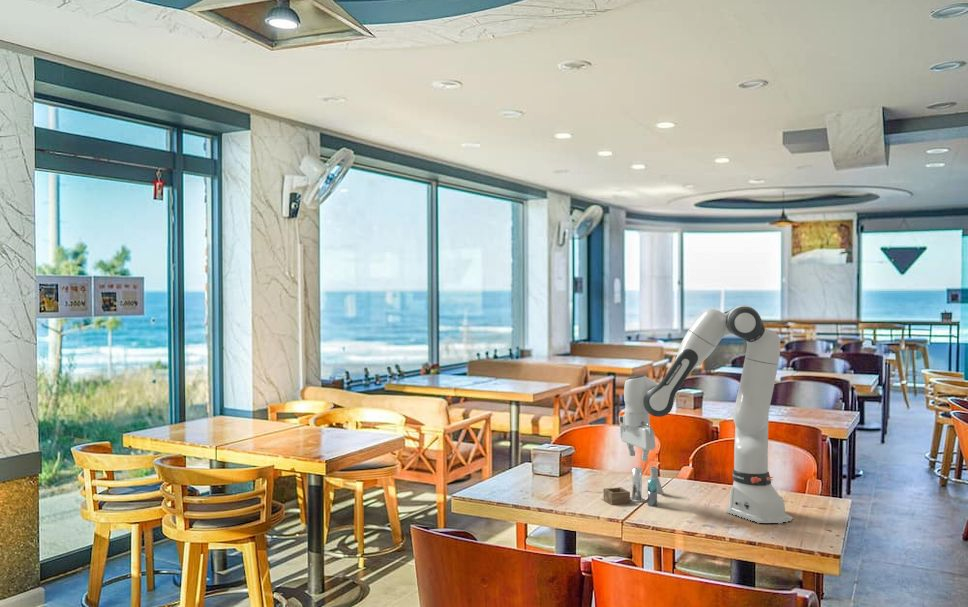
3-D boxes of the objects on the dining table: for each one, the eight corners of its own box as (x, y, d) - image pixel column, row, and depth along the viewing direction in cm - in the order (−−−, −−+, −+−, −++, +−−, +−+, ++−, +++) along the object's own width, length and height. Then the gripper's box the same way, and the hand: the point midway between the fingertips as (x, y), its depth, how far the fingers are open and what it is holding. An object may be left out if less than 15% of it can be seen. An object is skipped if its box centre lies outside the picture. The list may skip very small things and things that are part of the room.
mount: (649, 504, 271) (649, 490, 271) (611, 508, 267) (611, 494, 267) (638, 499, 279) (638, 485, 279) (601, 502, 275) (601, 488, 275)
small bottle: (658, 508, 266) (658, 480, 266) (650, 509, 265) (650, 481, 265) (654, 506, 269) (654, 478, 269) (646, 507, 268) (646, 479, 268)
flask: (662, 491, 290) (662, 465, 289) (665, 496, 282) (665, 470, 282) (643, 491, 290) (643, 465, 290) (645, 496, 283) (645, 469, 283)
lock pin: (643, 499, 273) (643, 469, 273) (634, 500, 272) (635, 470, 272) (638, 497, 276) (639, 467, 276) (630, 497, 275) (630, 467, 275)
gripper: (659, 423, 265) (660, 462, 265) (632, 415, 284) (633, 452, 284) (642, 424, 263) (644, 464, 263) (616, 416, 283) (617, 453, 283)
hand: (638, 458), depth 274 cm, fingers open, 8 cm apart
